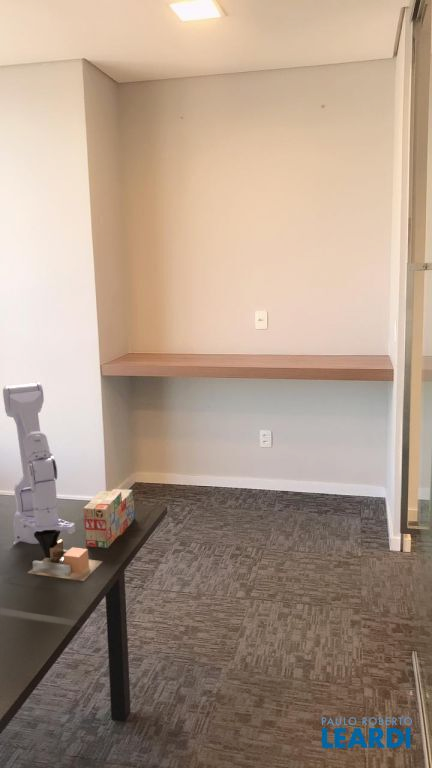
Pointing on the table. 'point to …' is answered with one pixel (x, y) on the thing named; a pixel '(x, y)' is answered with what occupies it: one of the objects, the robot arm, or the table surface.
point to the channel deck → (62, 569)
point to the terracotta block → (76, 559)
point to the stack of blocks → (108, 516)
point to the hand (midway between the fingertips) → (50, 556)
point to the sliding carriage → (57, 552)
